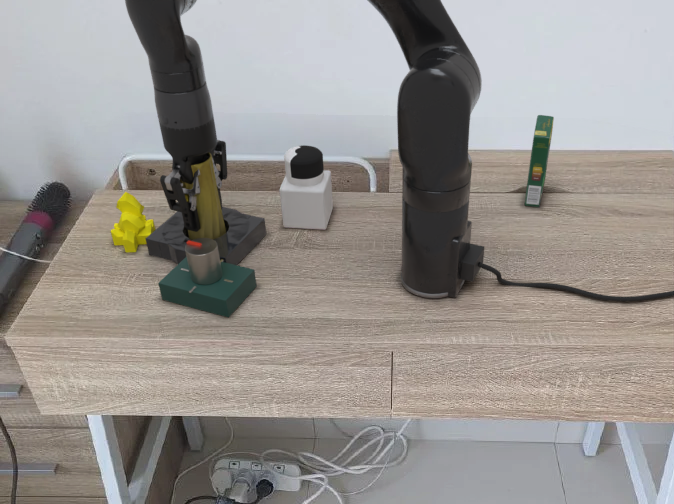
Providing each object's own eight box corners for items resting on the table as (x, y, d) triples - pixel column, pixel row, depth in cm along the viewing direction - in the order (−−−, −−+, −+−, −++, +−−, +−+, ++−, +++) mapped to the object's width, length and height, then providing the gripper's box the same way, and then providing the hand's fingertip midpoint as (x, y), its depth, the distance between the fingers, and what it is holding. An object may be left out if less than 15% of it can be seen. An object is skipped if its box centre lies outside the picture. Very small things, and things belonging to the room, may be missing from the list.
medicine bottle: (333, 208, 132) (329, 141, 124) (326, 230, 126) (321, 162, 118) (291, 205, 132) (285, 139, 124) (282, 228, 127) (275, 160, 119)
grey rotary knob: (228, 270, 112) (222, 239, 109) (211, 287, 109) (205, 256, 106) (201, 264, 114) (195, 233, 110) (185, 280, 110) (178, 249, 107)
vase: (181, 246, 121) (163, 162, 112) (202, 227, 126) (186, 144, 116) (215, 254, 120) (200, 169, 110) (235, 234, 124) (222, 151, 115)
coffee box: (540, 209, 132) (551, 136, 123) (523, 207, 132) (532, 134, 124) (544, 186, 138) (555, 115, 129) (528, 184, 138) (537, 113, 130)
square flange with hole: (268, 232, 126) (266, 216, 124) (225, 276, 116) (222, 260, 115) (194, 215, 130) (191, 199, 128) (146, 257, 120) (142, 240, 118)
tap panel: (258, 285, 115) (255, 267, 113) (227, 318, 109) (224, 300, 107) (193, 269, 118) (190, 251, 116) (160, 301, 112) (156, 283, 110)
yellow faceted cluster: (111, 253, 121) (99, 209, 116) (121, 225, 127) (110, 182, 122) (150, 251, 121) (139, 207, 116) (158, 224, 127) (148, 181, 122)
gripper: (179, 141, 103) (200, 248, 114) (235, 99, 113) (249, 202, 124) (132, 131, 105) (157, 238, 116) (191, 91, 115) (208, 193, 126)
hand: (204, 219), depth 120 cm, fingers closed on vase, 5 cm apart
